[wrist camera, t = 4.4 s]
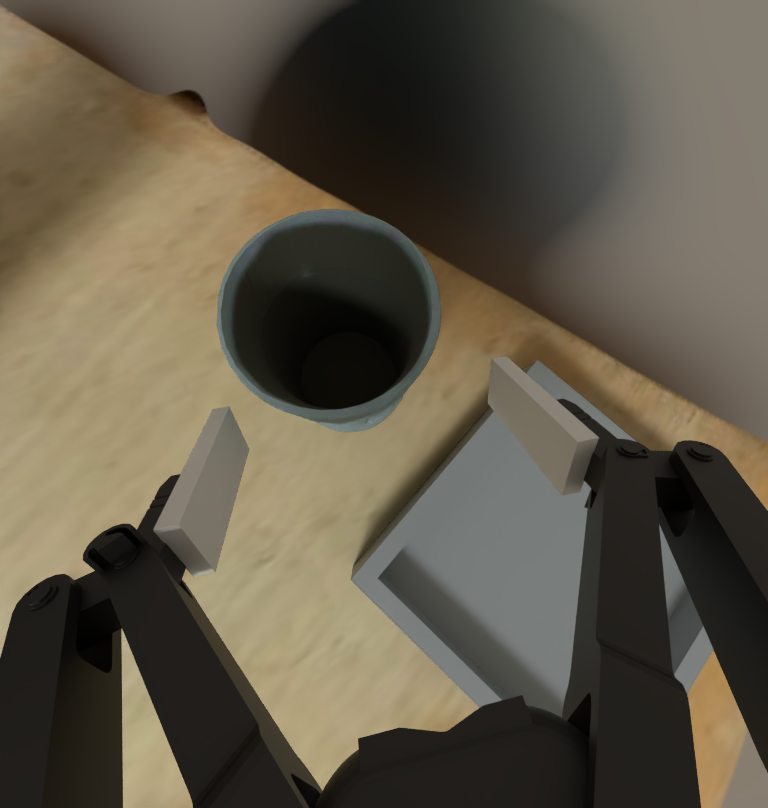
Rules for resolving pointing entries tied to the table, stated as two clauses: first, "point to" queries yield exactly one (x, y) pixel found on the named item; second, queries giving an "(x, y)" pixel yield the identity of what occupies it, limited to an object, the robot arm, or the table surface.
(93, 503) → the table surface
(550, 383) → the tray
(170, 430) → the table surface
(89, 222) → the table surface
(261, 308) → the grey green cup
